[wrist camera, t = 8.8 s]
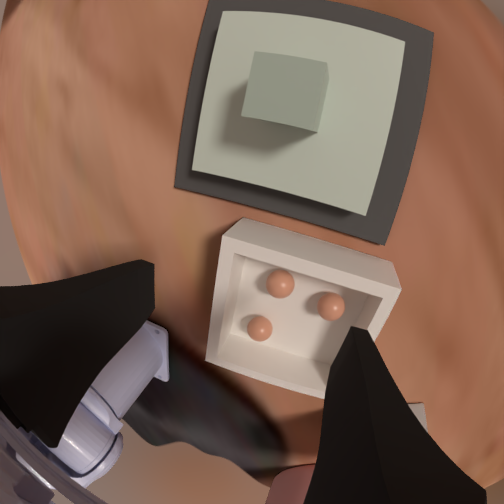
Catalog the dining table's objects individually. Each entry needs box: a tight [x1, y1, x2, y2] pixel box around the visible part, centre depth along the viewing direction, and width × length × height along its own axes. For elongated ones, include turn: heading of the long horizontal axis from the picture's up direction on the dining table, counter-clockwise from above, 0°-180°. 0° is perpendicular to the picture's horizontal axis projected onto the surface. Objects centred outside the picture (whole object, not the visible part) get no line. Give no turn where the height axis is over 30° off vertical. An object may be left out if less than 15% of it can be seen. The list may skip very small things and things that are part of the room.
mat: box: [174, 0, 434, 246], centre depth 14 cm, size 14×14×1 cm
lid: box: [192, 11, 405, 216], centre depth 12 cm, size 10×10×5 cm
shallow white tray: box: [205, 217, 402, 399], centre depth 18 cm, size 10×10×4 cm
